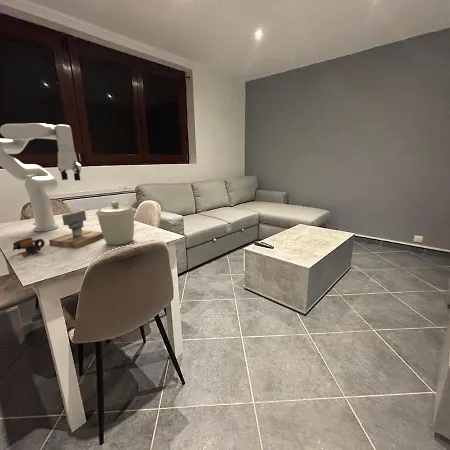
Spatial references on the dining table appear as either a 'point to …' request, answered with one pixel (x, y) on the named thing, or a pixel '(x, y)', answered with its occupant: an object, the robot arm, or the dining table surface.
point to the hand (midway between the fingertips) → (71, 180)
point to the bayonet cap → (74, 219)
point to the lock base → (76, 238)
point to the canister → (116, 223)
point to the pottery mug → (29, 246)
